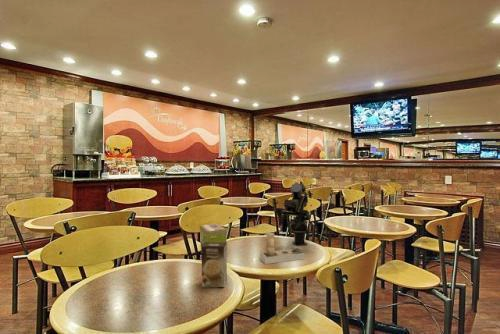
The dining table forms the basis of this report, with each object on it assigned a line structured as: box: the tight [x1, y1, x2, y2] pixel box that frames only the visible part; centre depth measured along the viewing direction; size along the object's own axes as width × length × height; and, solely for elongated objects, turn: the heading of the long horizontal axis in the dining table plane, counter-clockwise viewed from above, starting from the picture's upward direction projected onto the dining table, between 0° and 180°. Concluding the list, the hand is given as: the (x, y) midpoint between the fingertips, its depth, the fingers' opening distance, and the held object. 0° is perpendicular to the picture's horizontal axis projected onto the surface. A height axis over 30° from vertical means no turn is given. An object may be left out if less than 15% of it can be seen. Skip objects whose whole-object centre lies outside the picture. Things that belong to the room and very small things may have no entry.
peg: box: [265, 232, 276, 257], centre depth 141 cm, size 4×4×13 cm
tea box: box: [199, 223, 228, 254], centre depth 152 cm, size 15×10×15 cm, turn 25°
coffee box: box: [200, 242, 228, 288], centre depth 115 cm, size 9×6×16 cm
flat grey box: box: [259, 248, 306, 265], centre depth 143 cm, size 8×20×3 cm, turn 106°
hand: (287, 227), depth 151 cm, fingers open, 9 cm apart
